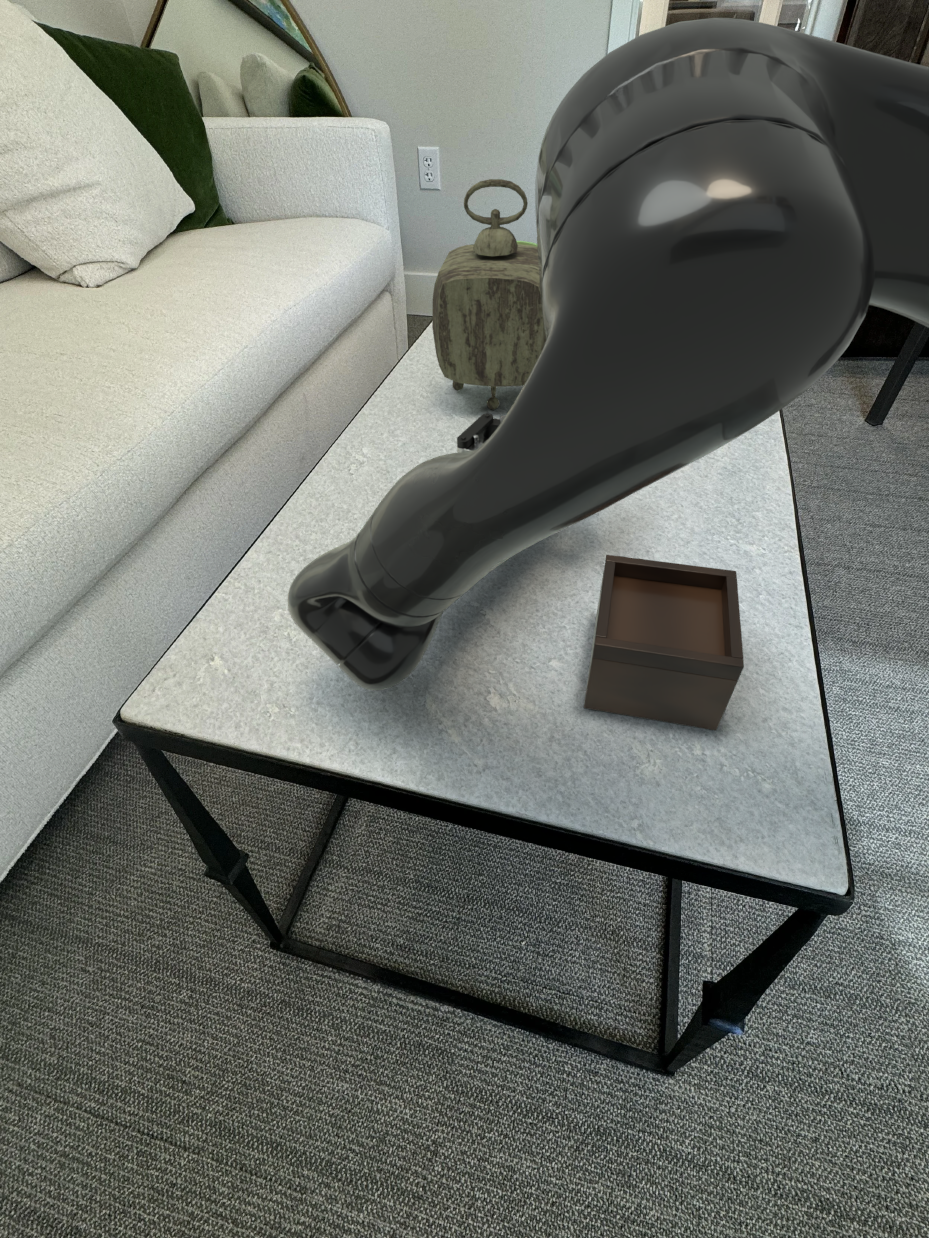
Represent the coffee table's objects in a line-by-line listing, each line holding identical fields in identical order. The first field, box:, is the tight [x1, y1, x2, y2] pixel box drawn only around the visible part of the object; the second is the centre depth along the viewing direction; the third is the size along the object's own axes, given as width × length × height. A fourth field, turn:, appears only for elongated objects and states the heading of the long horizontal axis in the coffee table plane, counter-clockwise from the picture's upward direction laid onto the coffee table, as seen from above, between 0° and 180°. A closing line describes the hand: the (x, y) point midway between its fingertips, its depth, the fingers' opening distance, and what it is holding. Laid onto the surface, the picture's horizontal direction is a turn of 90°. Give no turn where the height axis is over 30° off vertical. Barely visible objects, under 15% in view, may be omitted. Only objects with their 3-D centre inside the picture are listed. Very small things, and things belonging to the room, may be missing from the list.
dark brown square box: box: [583, 554, 745, 731], centre depth 50 cm, size 10×10×8 cm
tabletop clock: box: [431, 178, 546, 411], centre depth 77 cm, size 14×9×25 cm, turn 81°
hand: (568, 422), depth 65 cm, fingers open, 8 cm apart
